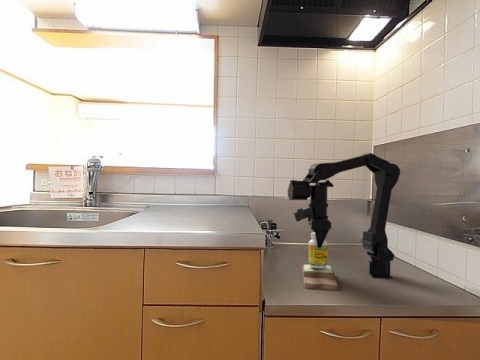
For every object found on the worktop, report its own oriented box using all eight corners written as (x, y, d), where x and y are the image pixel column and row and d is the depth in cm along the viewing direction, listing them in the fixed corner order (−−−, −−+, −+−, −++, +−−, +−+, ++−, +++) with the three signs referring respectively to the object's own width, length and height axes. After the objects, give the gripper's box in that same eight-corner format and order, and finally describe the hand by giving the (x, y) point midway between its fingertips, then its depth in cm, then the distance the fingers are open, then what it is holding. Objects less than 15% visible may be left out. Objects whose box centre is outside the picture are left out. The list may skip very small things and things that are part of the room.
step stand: (330, 274, 118) (330, 265, 118) (337, 289, 102) (338, 279, 102) (302, 273, 119) (302, 264, 119) (304, 287, 104) (304, 277, 103)
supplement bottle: (322, 263, 118) (322, 231, 118) (331, 268, 112) (331, 234, 112) (305, 264, 117) (305, 231, 117) (313, 269, 110) (313, 235, 110)
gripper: (294, 198, 124) (293, 239, 124) (295, 201, 106) (295, 251, 106) (324, 198, 123) (324, 240, 123) (331, 202, 104) (331, 252, 104)
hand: (318, 245), depth 114 cm, fingers open, 6 cm apart
